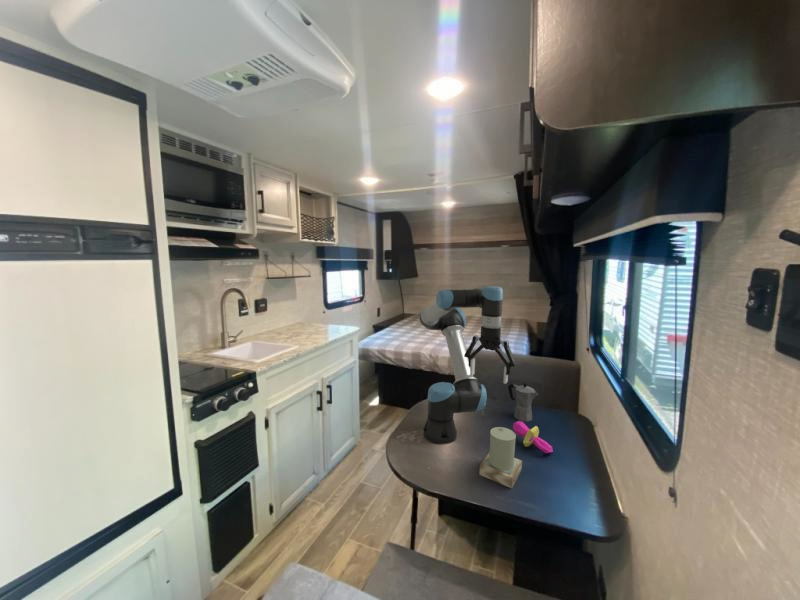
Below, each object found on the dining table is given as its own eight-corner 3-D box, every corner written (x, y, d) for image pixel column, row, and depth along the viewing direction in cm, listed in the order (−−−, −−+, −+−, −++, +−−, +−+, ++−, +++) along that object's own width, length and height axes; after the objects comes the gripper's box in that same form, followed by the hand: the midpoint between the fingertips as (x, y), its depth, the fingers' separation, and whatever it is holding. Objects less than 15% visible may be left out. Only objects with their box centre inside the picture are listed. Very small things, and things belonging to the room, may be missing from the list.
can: (509, 454, 124) (511, 426, 123) (517, 470, 115) (519, 439, 114) (486, 454, 125) (487, 425, 123) (492, 469, 115) (493, 438, 114)
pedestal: (479, 474, 119) (479, 464, 119) (490, 458, 129) (491, 448, 128) (511, 488, 112) (512, 477, 112) (521, 470, 122) (522, 459, 121)
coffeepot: (539, 418, 161) (542, 384, 159) (531, 425, 155) (534, 390, 152) (510, 408, 172) (512, 376, 170) (502, 414, 165) (504, 381, 163)
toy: (541, 463, 127) (555, 441, 127) (503, 433, 139) (515, 413, 139) (548, 461, 135) (560, 440, 134) (511, 433, 147) (522, 413, 146)
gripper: (457, 323, 128) (455, 374, 131) (521, 332, 114) (517, 389, 117) (465, 320, 134) (463, 369, 137) (526, 328, 120) (523, 382, 123)
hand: (488, 378), depth 127 cm, fingers open, 13 cm apart
